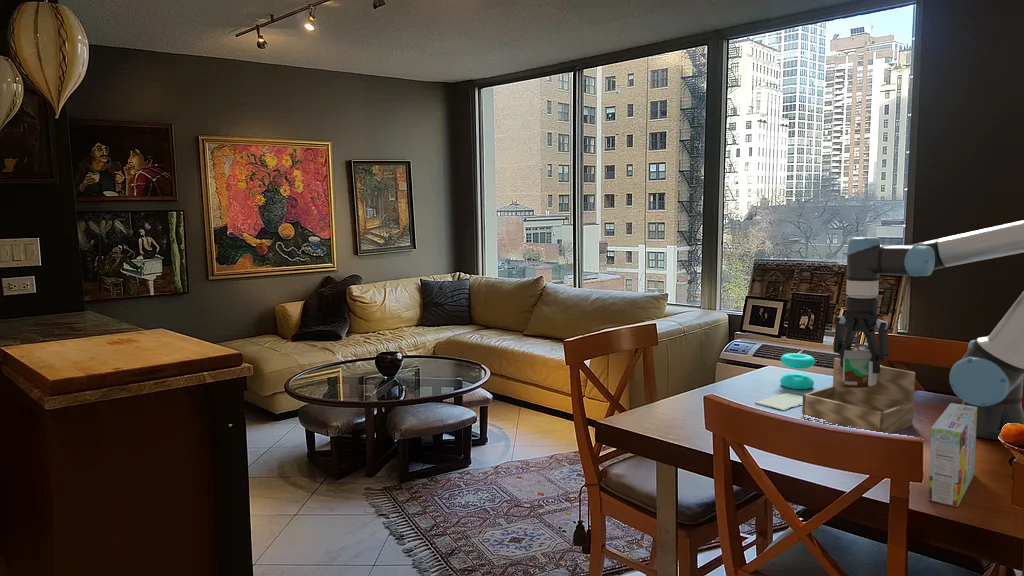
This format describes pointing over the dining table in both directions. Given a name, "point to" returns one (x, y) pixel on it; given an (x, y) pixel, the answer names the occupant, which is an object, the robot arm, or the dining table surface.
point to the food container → (857, 366)
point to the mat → (782, 401)
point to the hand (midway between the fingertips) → (859, 382)
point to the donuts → (799, 363)
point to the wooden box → (865, 402)
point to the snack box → (952, 454)
